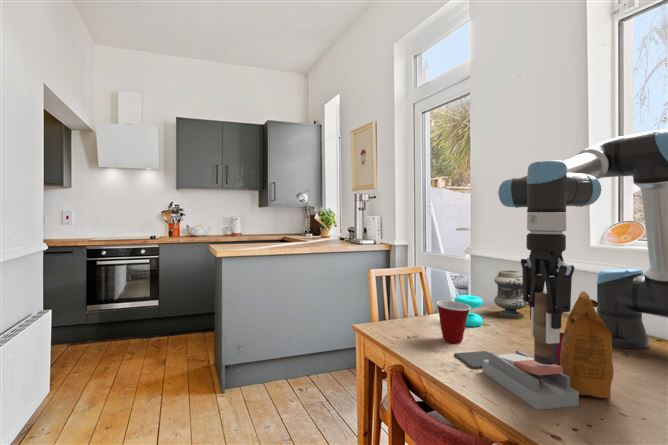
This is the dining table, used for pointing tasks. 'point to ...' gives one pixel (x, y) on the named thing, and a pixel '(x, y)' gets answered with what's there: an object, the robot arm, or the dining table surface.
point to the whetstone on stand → (532, 384)
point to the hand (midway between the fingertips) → (544, 339)
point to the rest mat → (473, 358)
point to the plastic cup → (452, 320)
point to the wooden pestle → (542, 331)
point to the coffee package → (587, 350)
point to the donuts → (473, 302)
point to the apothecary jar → (510, 293)
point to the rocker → (531, 365)
